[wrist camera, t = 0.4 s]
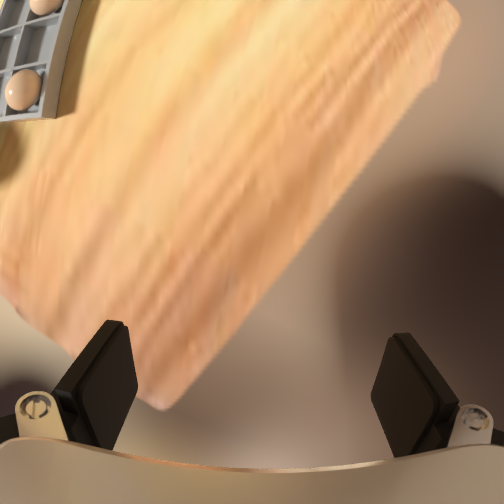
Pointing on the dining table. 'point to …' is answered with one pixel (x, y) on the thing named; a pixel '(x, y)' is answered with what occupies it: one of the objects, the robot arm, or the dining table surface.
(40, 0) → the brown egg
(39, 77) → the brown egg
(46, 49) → the egg tray
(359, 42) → the dining table surface
